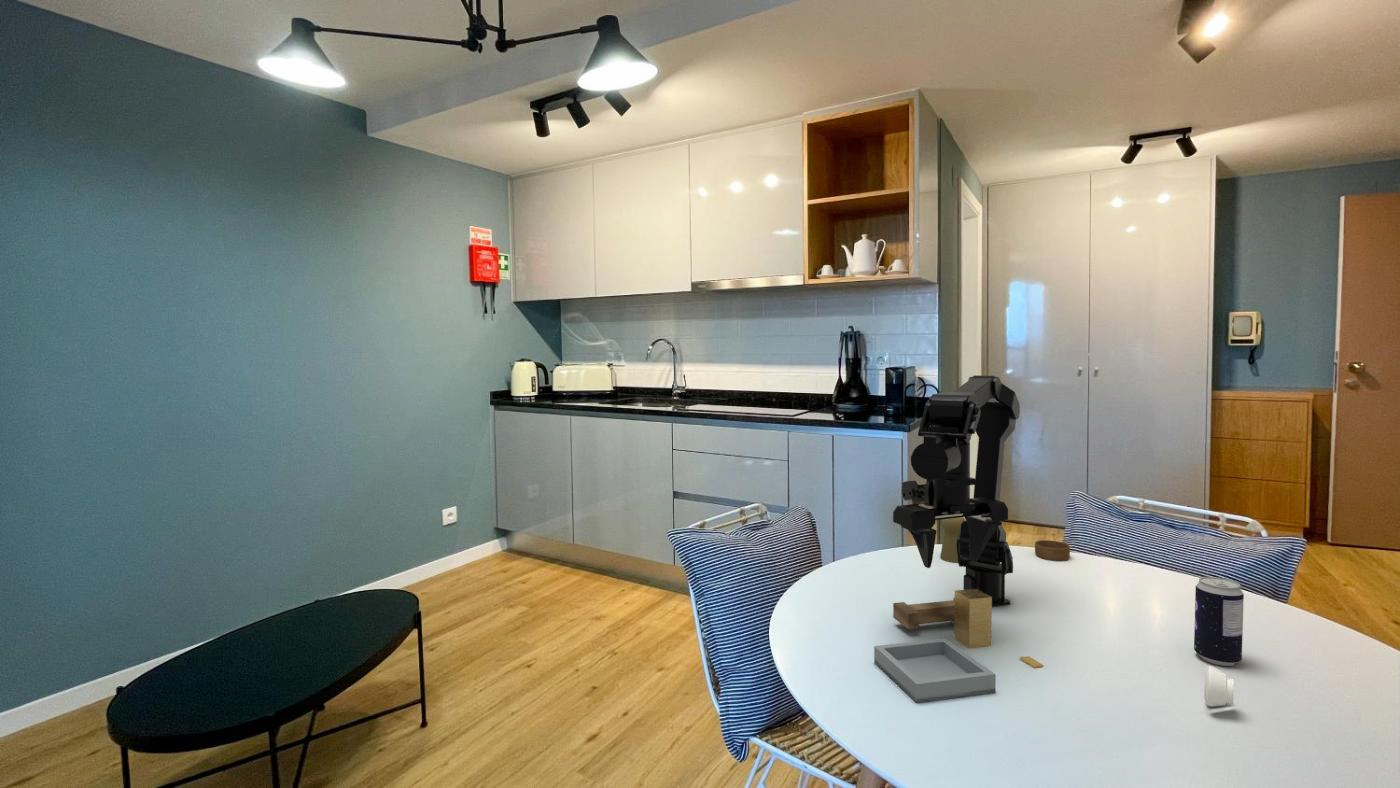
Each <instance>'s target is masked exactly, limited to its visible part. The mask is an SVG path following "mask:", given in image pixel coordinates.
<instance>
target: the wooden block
mask: <svg viewBox="0 0 1400 788" xmlns="http://www.w3.org/2000/svg"><path fill="white" fill-rule="evenodd" d="M954 598H955V618H954V626H953V627H954V632H953V633H954V635H953V638H954V640H956V641H957V642H959V643H960V644H962V645H964V646H965V647H966V648H968V649H969V650H970V649H976V648H977V649H978V648H985V647H987V648H988V647H992V635H993V634H992V631H993V630H992V629H993V628H992V626H993V625H992V624H993V623H992V622H993V617H992V616H993V615H992V614H993V611H992V608H993V606H992V597H991V596H989V595H987V594H985V593H983V592H982V591H980V590H978V589H967V590H964V589H959V590H954Z"/></svg>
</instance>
